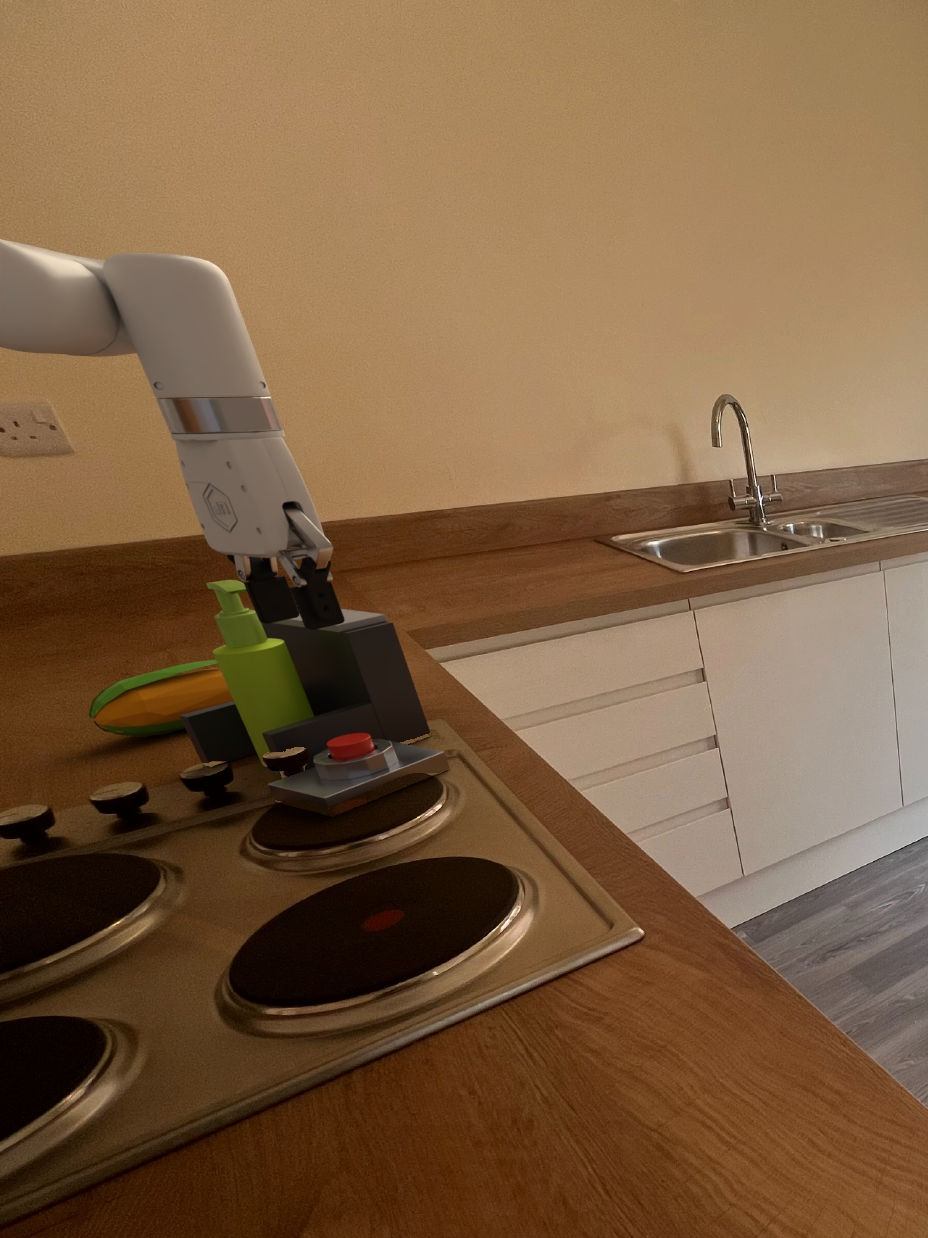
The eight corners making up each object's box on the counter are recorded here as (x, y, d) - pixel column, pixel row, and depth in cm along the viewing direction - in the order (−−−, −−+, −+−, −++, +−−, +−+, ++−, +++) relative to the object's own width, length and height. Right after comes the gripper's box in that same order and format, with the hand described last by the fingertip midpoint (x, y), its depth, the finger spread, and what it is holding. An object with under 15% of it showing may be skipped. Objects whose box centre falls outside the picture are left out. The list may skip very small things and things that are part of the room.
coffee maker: (293, 787, 88) (234, 651, 82) (203, 765, 93) (141, 636, 87) (433, 736, 101) (391, 614, 94) (346, 719, 106) (301, 603, 100)
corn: (58, 682, 96) (259, 637, 113) (88, 742, 100) (278, 690, 116) (94, 693, 94) (294, 646, 111) (124, 755, 97) (313, 700, 114)
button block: (332, 818, 82) (317, 780, 80) (275, 803, 85) (259, 767, 83) (450, 769, 92) (439, 736, 90) (395, 758, 95) (383, 725, 93)
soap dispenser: (278, 774, 91) (198, 590, 82) (253, 761, 94) (174, 583, 86) (341, 756, 95) (271, 579, 87) (315, 744, 99) (246, 573, 90)
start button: (347, 764, 84) (341, 748, 84) (324, 759, 86) (318, 743, 85) (383, 750, 88) (378, 735, 87) (361, 746, 89) (355, 730, 88)
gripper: (113, 422, 73) (203, 625, 81) (233, 423, 67) (318, 641, 75) (216, 418, 79) (290, 607, 87) (334, 419, 73) (402, 621, 81)
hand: (302, 621), depth 81 cm, fingers open, 6 cm apart
